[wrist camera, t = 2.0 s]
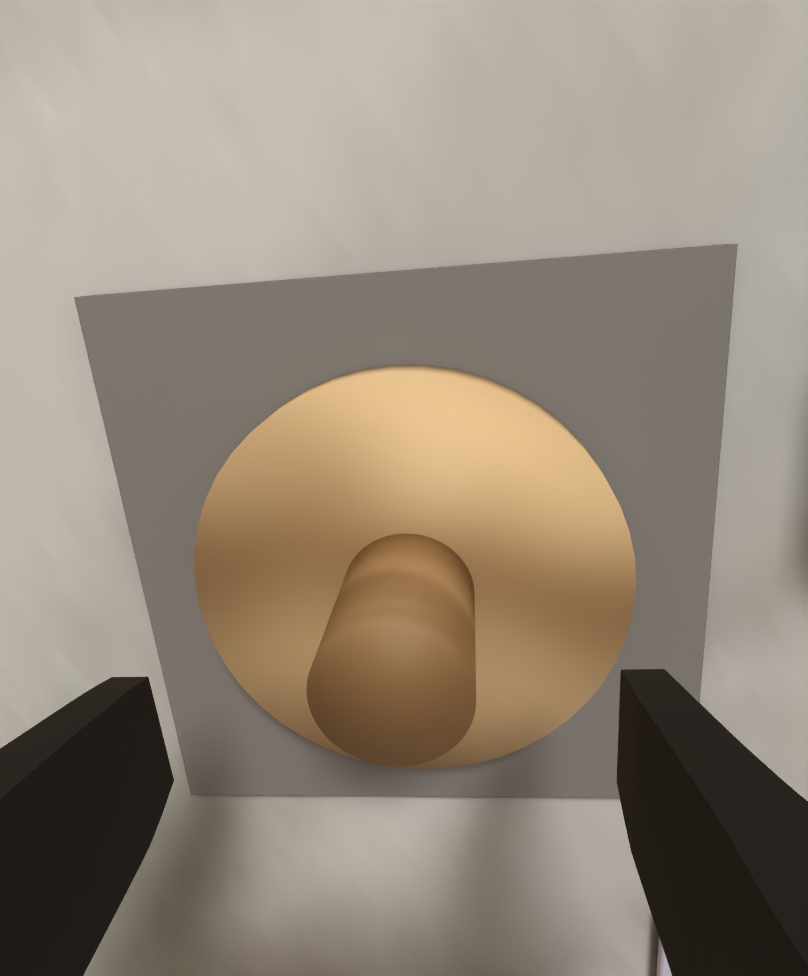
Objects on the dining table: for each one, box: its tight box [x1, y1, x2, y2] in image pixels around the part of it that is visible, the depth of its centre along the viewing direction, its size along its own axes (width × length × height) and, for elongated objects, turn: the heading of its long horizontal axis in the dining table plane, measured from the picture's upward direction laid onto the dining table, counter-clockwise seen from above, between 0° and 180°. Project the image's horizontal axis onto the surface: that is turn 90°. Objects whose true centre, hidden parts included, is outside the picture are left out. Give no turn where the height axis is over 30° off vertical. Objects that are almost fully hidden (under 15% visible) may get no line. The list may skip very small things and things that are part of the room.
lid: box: [194, 365, 636, 769], centre depth 13 cm, size 9×9×4 cm
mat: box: [74, 244, 737, 798], centre depth 15 cm, size 13×13×1 cm
